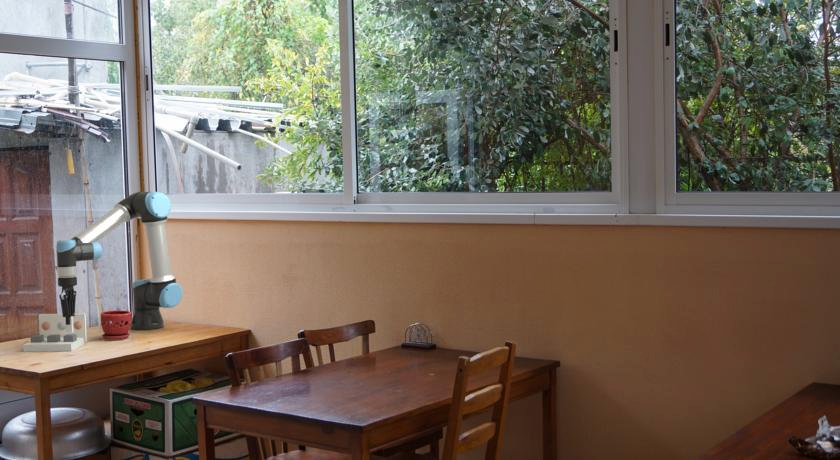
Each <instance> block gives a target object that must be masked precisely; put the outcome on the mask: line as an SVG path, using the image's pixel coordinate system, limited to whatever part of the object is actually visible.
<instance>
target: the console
mask: <svg viewBox="0 0 840 460" xmlns="http://www.w3.org/2000/svg"><path fill="white" fill-rule="evenodd" d="M84 344H85V341H84V338H77V340H76V341H74V342H64V338H60V341H58V342H47V338H44V341H43V342H36V343H31V341H29V342H27V343H24V344H23V345H22V348H23V353H31V352H32V353H34V352H36V353H37V352H39V353H41V352H42V353H43V352H73V351H74V350H77V349H78V348H80V347H82V346H84Z"/></svg>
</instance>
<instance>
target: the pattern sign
mask: <svg viewBox="0 0 840 460" xmlns="http://www.w3.org/2000/svg"><path fill="white" fill-rule="evenodd" d="M76 313H77V314H75V316H73V332H66V327H65V317H63V315H62V313H38V329H39V330H38V332H39V333H38V335H44V338H47V336H49V335H55V334H60V338H64V337H63V336H65V335H67V334H77V338H84V342H87V341H88V338H87V317H86V316H87V315H86V313H83V312H76Z"/></svg>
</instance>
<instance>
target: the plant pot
mask: <svg viewBox="0 0 840 460" xmlns="http://www.w3.org/2000/svg"><path fill="white" fill-rule="evenodd" d="M132 317H133V315H132V311H130V310H119V309H118V310H107V311H102V312H101V313H100V326H101V329H102V332H103V334H102V335H101V336H102V339H105V340H106V341H120V340H125V339H127V338H129V336H130V335H131V334H130V333H129V331H130V329H131V321H132Z"/></svg>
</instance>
